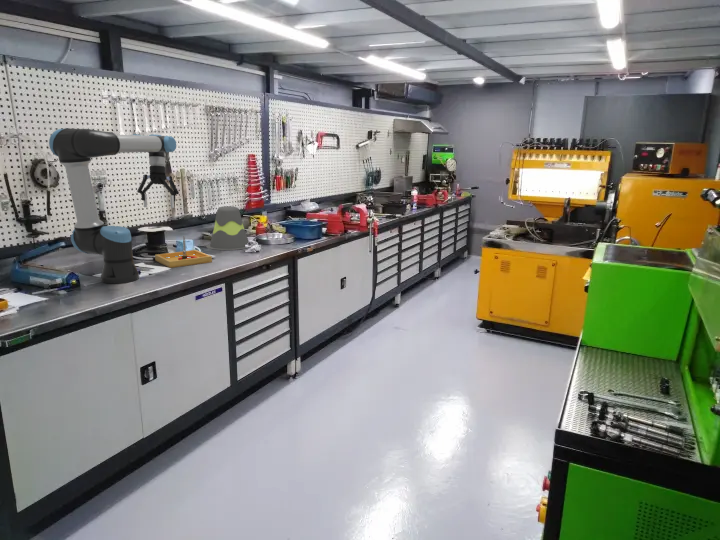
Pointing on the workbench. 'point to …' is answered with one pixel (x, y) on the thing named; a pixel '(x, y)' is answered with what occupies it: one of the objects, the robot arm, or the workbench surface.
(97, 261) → the workbench surface
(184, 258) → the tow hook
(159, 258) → the parts tray
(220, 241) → the gray green truncated cone
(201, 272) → the workbench surface
